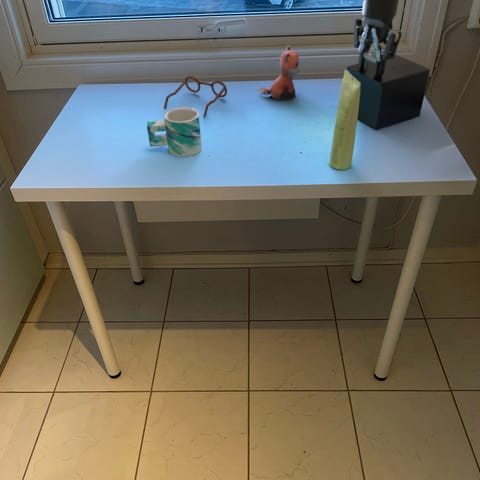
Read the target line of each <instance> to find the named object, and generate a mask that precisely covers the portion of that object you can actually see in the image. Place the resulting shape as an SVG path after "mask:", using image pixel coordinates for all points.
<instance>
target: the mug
mask: <svg viewBox="0 0 480 480" xmlns="http://www.w3.org/2000/svg"><path fill="white" fill-rule="evenodd" d="M200 124H201V123H200V113H199V111H198V110H196V109H195V108H192V107H183V106H181V107H177V108H171V109H169V110H168V111H166V112H165V113H164V117H163V120H150V121H147V123H146V129H147V137H148V142H149V147H150V148H151V147H167V149H168V153H169V154H171V155H173V156H174V157H181V158H187V157H191V156H196V155H197V154H198V153H200V152H201V151H202V150H203V149H202V137H201V135H202V134H201V125H200ZM158 132H165V133H160V134H156V133H158Z"/></svg>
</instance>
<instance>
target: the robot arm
mask: <svg viewBox="0 0 480 480" xmlns="http://www.w3.org/2000/svg"><path fill="white" fill-rule="evenodd" d="M398 6H399V0H363V1H362V7H361V8H362V10H361V15H362V16H363V17H359V18H357V19H354V20H353V47H354V48H355V49H358V50H357V51H358V53H359V56H358V63H357V64H358V65H359V69H360V70H363V68H364V60H365V59H363V54H364V52H365V51H368V52H370V49H371V47H372V44H373V49H374V51H375V55H377V60H376V64H375V71H374V76H375V77H381V76H382V75H383V74H384V70H385V64H386V60H388V59H392V58H394V55H395V54H396V53H397V49H398V47H399V44H400V41H401V38H402V32H401V31H396V30H394V29H393V28H394V27H393V26H394V25H393V20H394V18H395V17H396V15H397V14H398Z"/></svg>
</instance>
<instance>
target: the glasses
mask: <svg viewBox="0 0 480 480" xmlns="http://www.w3.org/2000/svg"><path fill="white" fill-rule="evenodd" d="M189 79H192V80H194V81H195V83H197V89H193V88H191V87H190V86H189V83H188V80H189ZM215 84H218V85H220V86H222V88H221V90H220V91H219V92H218V93H217V92H216V90H215V87H214V86H215ZM201 85H204V86H209V87H211V91H212V93H213V95H214V96H215V97H214V98H213V99H212V100H211V101H209V102H208V103H207V104H206V105H205V108H204V112H203V116H202V117H203V118H206V116H207V114H208V110H209V107H210V106H211V105H212V104H214V103H216V102H217V100H218V99H219V98H225V97H226V96H227V95H228V88H227V86H226V84H225V83H224V82H223V81H221V80H213V81H212V82H211V83H210V82H208V81H200V80H199V79H198V78H196V77H195V76H193V75H188V76H186V78H185V79H184V80H183V82H182V83H181V84H180V85H179V86H178V87H177V89H175V90H174V91H173V92H171V93H169V94H168V95H167V96H166V97H165V100H164V105H163V109H164V110H166V109H167V108H168V107H167V106H168V102H169V99H170V98H171V97H172V96H176V95H177V94H178V93H179V92H180V90H181V89H183V87H186V88H187V90H189V92H192V93H193V94H194V93H198V92H200V90H201Z"/></svg>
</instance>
